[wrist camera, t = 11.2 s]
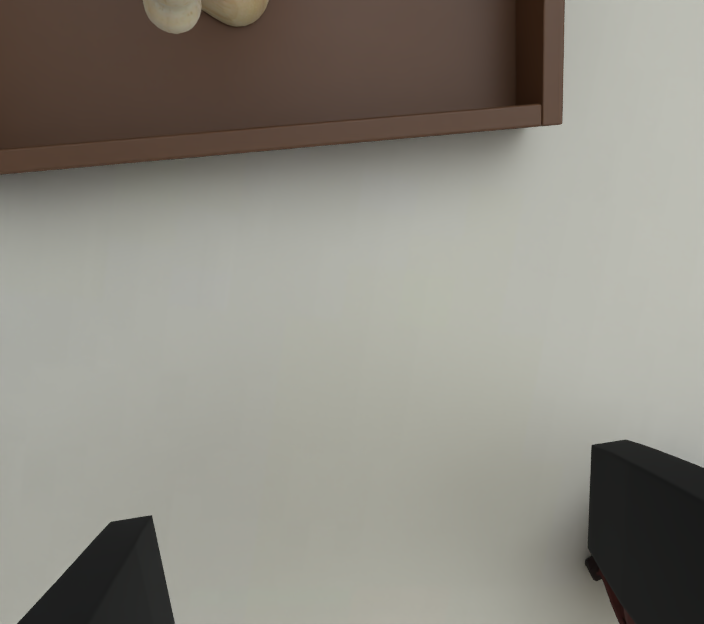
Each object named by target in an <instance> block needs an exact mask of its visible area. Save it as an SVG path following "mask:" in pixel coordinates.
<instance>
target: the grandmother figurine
mask: <svg viewBox="0 0 704 624" xmlns="http://www.w3.org/2000/svg"><path fill="white" fill-rule="evenodd" d="M268 1H269V0H143V4H144V8H145V12H146V14H147V16H148V18H149V19H150V20H151V22H152V23H154V24H155V25H156V26H157V27H158V28H160V29H161V30H163V31H166V32H168V33H174V34H179V33H183V32H186V31H189V30H190V29H192V28H193V27H194V25H195V24H196V23H197V21H198V19H199V17H200V13H201V10H203V11H204V12H206V13H207V14H209V15H211V16H212V17H214V18H216V19H217V20H219V21H221V22H223V23H225V24H227V25H230V26H235V27H239V26H247V25H249V24H251V23H254V22H255V21H256V20H258V19H259V18H260V16H261V15H262V14H263V13H264V11H265V9H266V7H267V4H268Z"/></svg>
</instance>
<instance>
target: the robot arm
mask: <svg viewBox="0 0 704 624" xmlns="http://www.w3.org/2000/svg"><path fill="white" fill-rule="evenodd" d="M588 549H589V551H590V553H591V554H592V556H593V558H594V560H595V561H596V563H597V565H598V567H599V568H600V570H601V572H602V574H603V576H604V577H605V579H606V581H607V582H608V584H609V585H610V587H611V589H612V590H613V592H614V594H615V595H616V597H617V599H618V600H619V602H620V603H621V605H622V606H623V607H624V609H625V610H626V611H627V613H628V614H629V616H630V617H631V618H632V620H633V621H634V622H635V623H636V624H704V468H702V467H700V466H697V465H695V464H692V463H690V462H687V461H685V460H682V459H680V458H677V457H675V456H672V455H669V454H667V453H664V452H661V451H659V450H656V449H653V448H650V447H648V446H645V445H642V444H639V443H635V442H632V441H629V440H620V441H614V442H608V443H602V444H595V445H592V449H591V475H590V501H589V527H588ZM17 624H175V622H174V617H173V613H172V608H171V603H170V599H169V594H168V589H167V584H166V580H165V575H164V570H163V566H162V561H161V556H160V551H159V547H158V542H157V537H156V532H155V528H154V523H153V518H152V515H151V516H144V517H138V518H132V519H126V520H119V521H113V522H110V523H109V524H108V525H107V526H106V527H105V529H104V530H103V531H102V532H101V533H100V534H99V535H98V536H97V537H96V538H95V539H94V540H93V541H92V543H91V544H90V545H89V546H88V547H87V548H86V549H85V550H84V551H83V553H82V554H81V555H80V556H79V557H78V558H77V559H76V560H75V561H74V563H73V564H72V565H71V566H70V567H69V568H68V569H67V570H66V571H65V573H64V574H63V575H62V576H61V577H60V578H59V579H58V580H57V581H56V582H55V583H54V585H53V586H52V587H51V588H50V589H49V590H48V591H47V592H46V593H45V594H44V595H43V596H42V597H41V599H40V600H39V601H38V602H37V603H36V604H35V605H34V606H33V607H32V608H31V609H30V610H29V611H28V613H27V614H26V615H25V616H24V617H23V618H22V619H21V620H20V621H19V622H18V623H17Z"/></svg>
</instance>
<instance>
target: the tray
mask: <svg viewBox="0 0 704 624" xmlns="http://www.w3.org/2000/svg"><path fill="white" fill-rule="evenodd" d="M564 7H565V0H269V1H268V4H267V7H266V9H265V11H264V13H263V14H262V15H261V16H260V18H259V19H258V20H256V21H255V22H254V23H251V24H249V25H247V26H239V27H235V26H230V25H227V24H225V23H223V22H221V21H219V20H217V19H216V18H214V17H212V16H211V15H209V14H207V13H206V12H204V11H203V10H201V13H200V17H199V19H198V21H197V23H196V24H195V25H194V27H193V28H192V29H190V30H189V31H186V32H183V33H179V34H174V33H168V32H166V31H163V30H161V29H160V28H158V27H157V26H156V25H155V24H154V23H152V22H151V20H150V19H149V18H148V16H147V14H146V12H145V8H144V4H143V0H0V175H2V174H13V173H25V172H36V171H47V170H58V169H69V168H80V167H91V166H103V165H114V164H125V163H136V162H147V161H158V160H170V159H181V158H192V157H203V156H214V155H225V154H237V153H248V152H259V151H270V150H281V149H292V148H304V147H315V146H326V145H337V144H348V143H359V142H371V141H382V140H393V139H404V138H415V137H426V136H438V135H449V134H460V133H471V132H482V131H493V130H504V129H516V128H527V127H538V126H549V125H560V124H562V111H563V59H564Z"/></svg>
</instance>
